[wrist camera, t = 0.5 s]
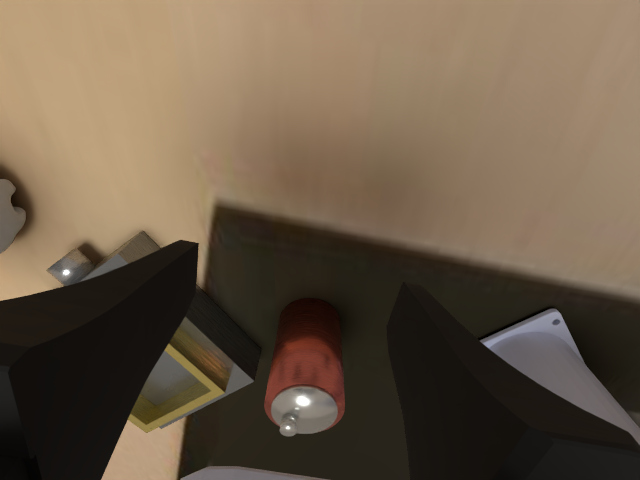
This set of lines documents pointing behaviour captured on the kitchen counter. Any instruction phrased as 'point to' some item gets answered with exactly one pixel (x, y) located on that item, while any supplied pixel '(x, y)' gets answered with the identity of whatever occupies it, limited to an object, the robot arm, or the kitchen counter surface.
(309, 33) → the kitchen counter surface
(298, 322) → the red metal cylinder
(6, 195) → the bottle
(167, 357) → the grey socket block
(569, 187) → the kitchen counter surface
